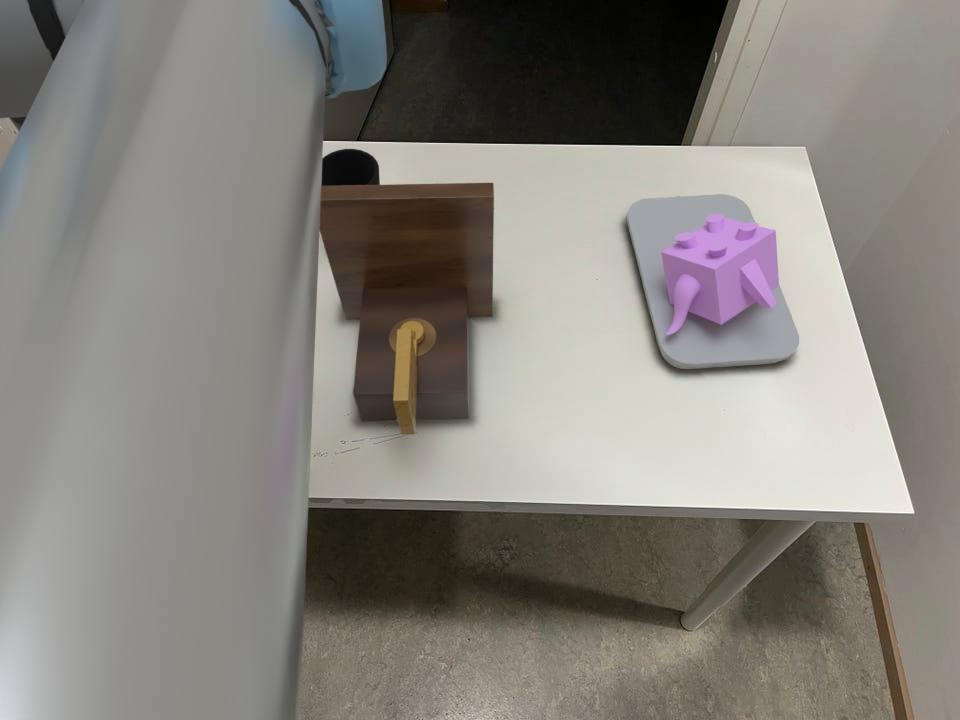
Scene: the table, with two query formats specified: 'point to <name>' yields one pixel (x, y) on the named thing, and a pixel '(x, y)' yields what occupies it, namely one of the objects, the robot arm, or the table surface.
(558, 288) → the table surface
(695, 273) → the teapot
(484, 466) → the table surface
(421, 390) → the case
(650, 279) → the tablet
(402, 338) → the lever
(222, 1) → the robot arm
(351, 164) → the cup
